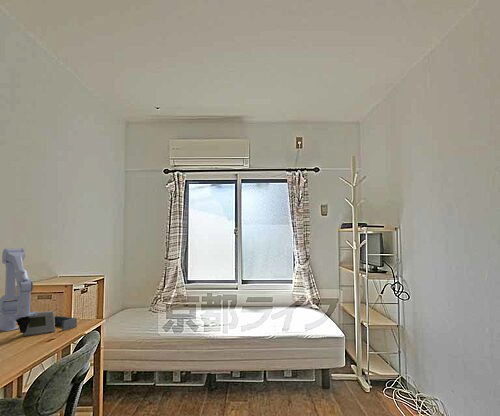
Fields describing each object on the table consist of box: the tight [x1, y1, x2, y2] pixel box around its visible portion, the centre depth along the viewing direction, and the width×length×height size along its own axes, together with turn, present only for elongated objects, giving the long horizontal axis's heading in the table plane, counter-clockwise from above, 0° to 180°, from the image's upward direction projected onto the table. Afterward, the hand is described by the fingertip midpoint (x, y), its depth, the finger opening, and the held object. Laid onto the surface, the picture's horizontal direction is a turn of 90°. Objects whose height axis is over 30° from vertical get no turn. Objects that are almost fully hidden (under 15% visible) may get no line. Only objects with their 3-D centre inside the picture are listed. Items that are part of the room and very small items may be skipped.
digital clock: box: [22, 310, 56, 337], centre depth 223 cm, size 16×9×11 cm, turn 123°
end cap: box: [54, 315, 78, 331], centre depth 236 cm, size 14×9×5 cm, turn 68°
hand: (22, 332), depth 214 cm, fingers closed
